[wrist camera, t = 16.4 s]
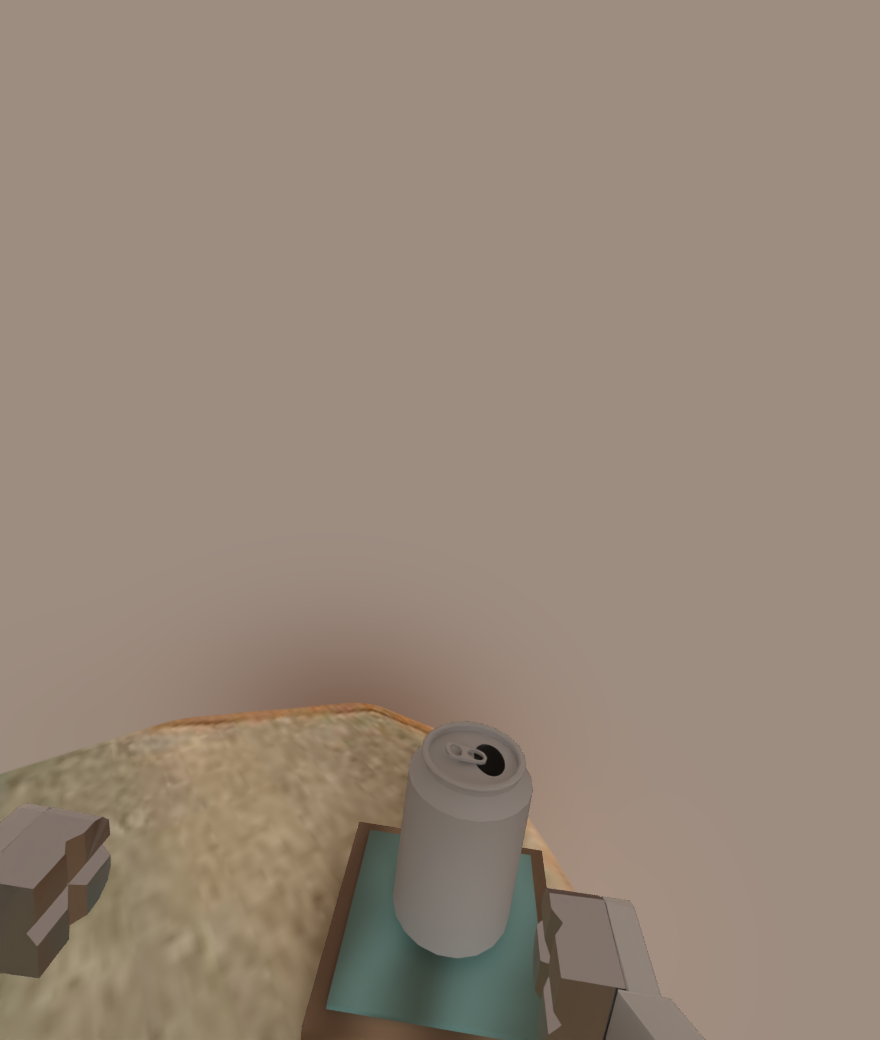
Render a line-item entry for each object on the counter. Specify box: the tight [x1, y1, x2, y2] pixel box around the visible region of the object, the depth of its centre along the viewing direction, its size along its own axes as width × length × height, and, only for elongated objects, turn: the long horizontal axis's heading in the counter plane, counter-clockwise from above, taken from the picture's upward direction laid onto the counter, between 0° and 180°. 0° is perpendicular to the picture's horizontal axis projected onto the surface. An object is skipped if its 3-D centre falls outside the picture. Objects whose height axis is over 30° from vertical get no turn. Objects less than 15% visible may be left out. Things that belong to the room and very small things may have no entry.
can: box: [393, 721, 533, 958], centre depth 34 cm, size 8×8×12 cm
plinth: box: [301, 822, 547, 1040], centre depth 36 cm, size 14×14×4 cm
